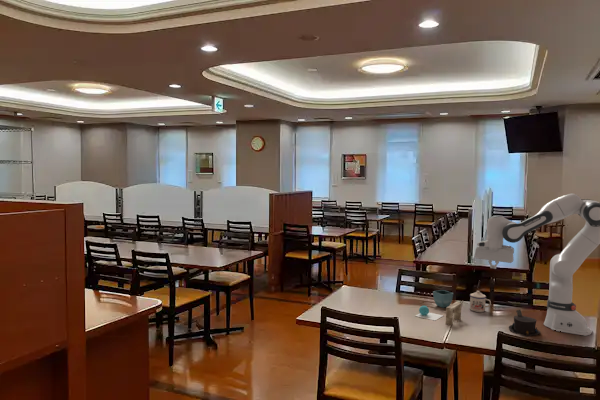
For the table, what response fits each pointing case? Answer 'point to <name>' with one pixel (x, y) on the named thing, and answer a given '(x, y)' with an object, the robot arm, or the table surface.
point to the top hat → (524, 325)
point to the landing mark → (430, 316)
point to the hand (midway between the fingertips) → (493, 268)
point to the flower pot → (442, 298)
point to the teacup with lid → (478, 302)
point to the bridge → (450, 312)
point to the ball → (423, 310)
